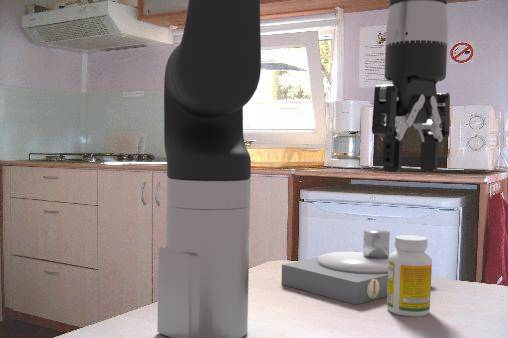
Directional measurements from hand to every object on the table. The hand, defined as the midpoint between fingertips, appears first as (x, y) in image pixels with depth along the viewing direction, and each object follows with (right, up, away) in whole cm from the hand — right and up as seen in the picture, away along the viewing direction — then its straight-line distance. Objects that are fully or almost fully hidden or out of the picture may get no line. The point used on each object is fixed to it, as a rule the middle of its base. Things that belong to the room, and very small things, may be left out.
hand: (411, 171), depth 73 cm
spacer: (-1, -14, +17) cm, 22 cm away
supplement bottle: (0, -18, +1) cm, 18 cm away
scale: (-5, -17, +14) cm, 23 cm away
